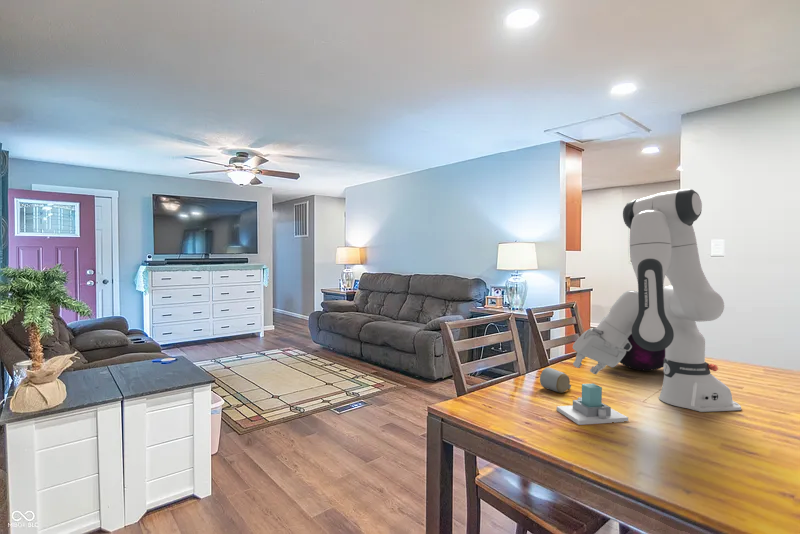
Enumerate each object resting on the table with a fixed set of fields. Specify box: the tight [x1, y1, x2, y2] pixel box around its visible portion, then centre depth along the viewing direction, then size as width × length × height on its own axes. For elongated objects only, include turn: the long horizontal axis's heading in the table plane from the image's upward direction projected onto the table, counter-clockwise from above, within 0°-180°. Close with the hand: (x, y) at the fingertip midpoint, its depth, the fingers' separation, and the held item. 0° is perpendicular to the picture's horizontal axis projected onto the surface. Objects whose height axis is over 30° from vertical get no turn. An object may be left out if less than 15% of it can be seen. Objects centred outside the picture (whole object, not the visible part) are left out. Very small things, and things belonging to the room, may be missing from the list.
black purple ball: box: [619, 334, 665, 372], centre depth 182 cm, size 30×30×30 cm
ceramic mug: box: [539, 366, 572, 394], centre depth 153 cm, size 11×8×8 cm
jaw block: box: [581, 383, 603, 407], centre depth 127 cm, size 4×4×8 cm
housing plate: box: [556, 396, 629, 426], centre depth 127 cm, size 16×12×4 cm
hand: (584, 369), depth 134 cm, fingers open, 8 cm apart
